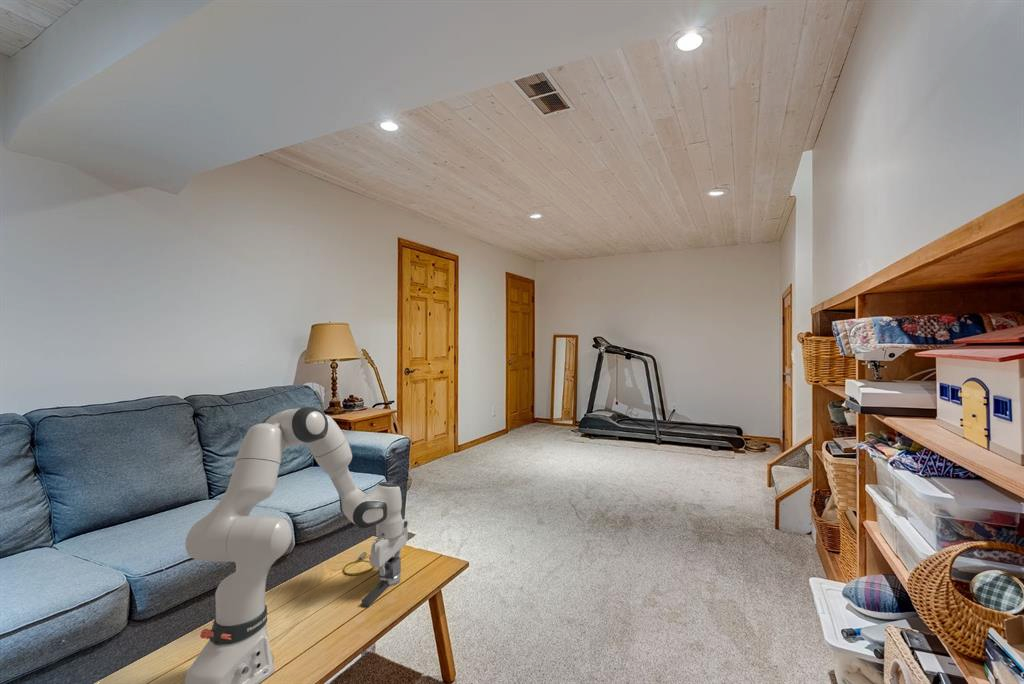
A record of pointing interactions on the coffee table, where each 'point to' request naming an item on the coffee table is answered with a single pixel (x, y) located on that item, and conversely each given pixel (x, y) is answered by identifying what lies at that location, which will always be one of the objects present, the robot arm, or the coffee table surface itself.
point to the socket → (392, 568)
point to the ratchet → (379, 590)
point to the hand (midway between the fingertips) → (389, 568)
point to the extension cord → (358, 561)
